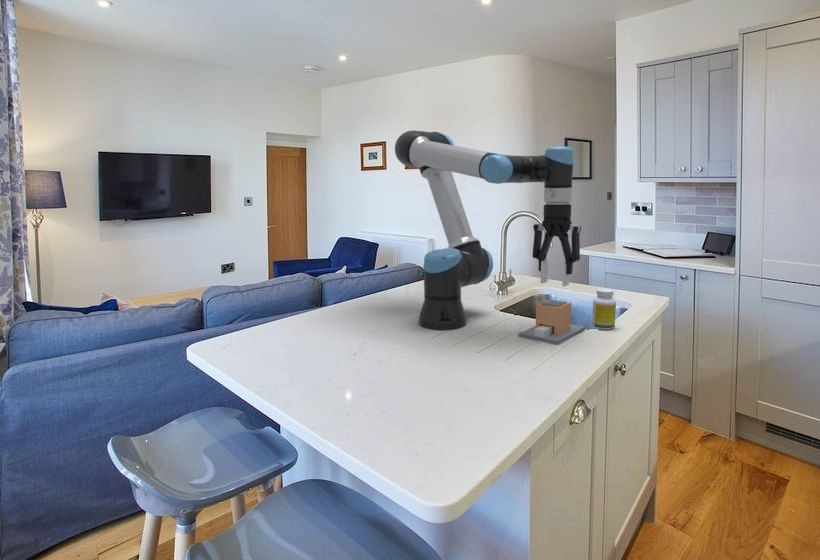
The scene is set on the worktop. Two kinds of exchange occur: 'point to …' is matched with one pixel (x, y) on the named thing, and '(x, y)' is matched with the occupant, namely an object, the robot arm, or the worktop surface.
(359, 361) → the worktop surface
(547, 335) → the rail board
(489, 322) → the worktop surface
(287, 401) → the worktop surface
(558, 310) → the block
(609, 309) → the pill bottle
